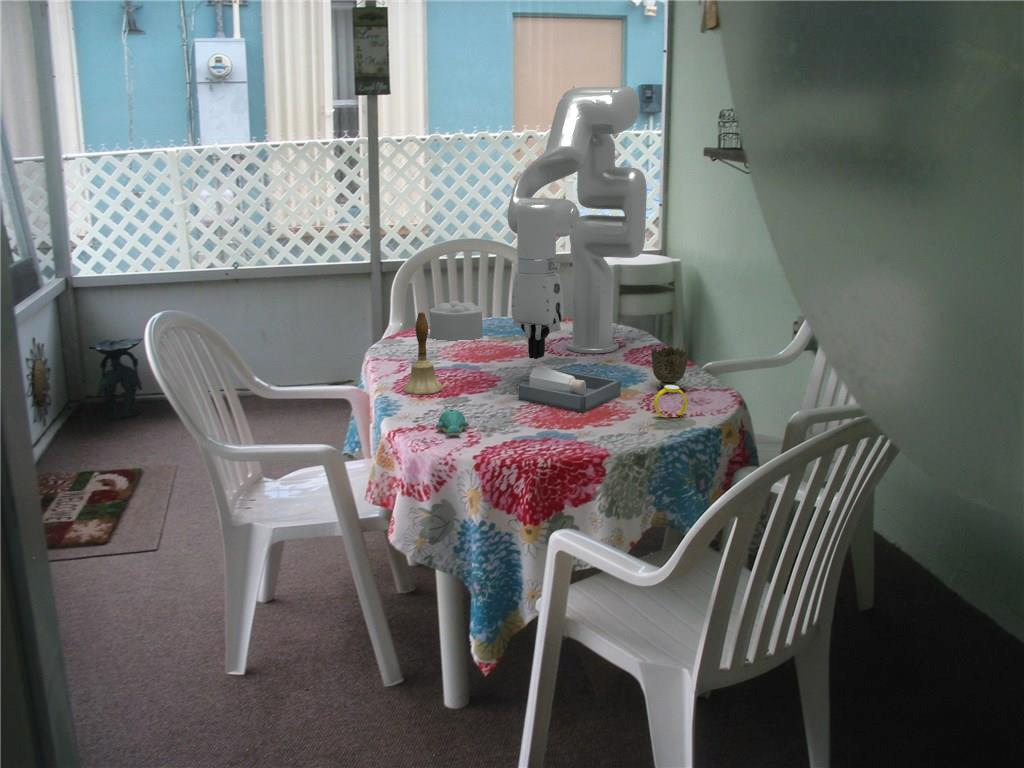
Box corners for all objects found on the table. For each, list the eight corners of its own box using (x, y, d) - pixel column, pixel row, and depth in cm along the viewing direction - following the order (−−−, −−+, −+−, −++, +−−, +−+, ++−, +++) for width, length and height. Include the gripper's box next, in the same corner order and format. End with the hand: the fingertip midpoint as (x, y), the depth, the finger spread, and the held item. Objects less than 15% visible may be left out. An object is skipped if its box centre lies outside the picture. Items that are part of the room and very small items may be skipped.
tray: (557, 383, 195) (557, 369, 194) (620, 395, 187) (620, 380, 186) (518, 399, 184) (518, 385, 183) (583, 412, 176) (583, 397, 175)
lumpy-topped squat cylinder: (484, 340, 234) (483, 306, 232) (432, 342, 232) (431, 308, 230) (478, 331, 244) (477, 298, 242) (428, 333, 242) (427, 300, 240)
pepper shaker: (531, 397, 189) (579, 406, 184) (526, 375, 186) (574, 384, 180) (545, 381, 193) (591, 390, 187) (539, 360, 190) (587, 368, 184)
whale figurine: (468, 425, 170) (467, 405, 169) (470, 438, 163) (469, 418, 162) (435, 426, 169) (435, 406, 168) (436, 440, 162) (436, 419, 161)
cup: (664, 395, 186) (665, 356, 184) (642, 386, 193) (644, 348, 191) (694, 390, 190) (696, 351, 188) (672, 381, 196) (673, 344, 194)
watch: (682, 415, 175) (686, 385, 173) (687, 420, 172) (690, 389, 170) (651, 414, 174) (654, 384, 172) (655, 419, 171) (658, 388, 170)
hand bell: (406, 383, 196) (403, 309, 192) (445, 383, 196) (443, 308, 192) (400, 395, 188) (397, 317, 184) (441, 395, 188) (439, 317, 184)
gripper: (579, 267, 182) (578, 358, 187) (516, 261, 190) (517, 348, 195) (558, 272, 176) (557, 366, 181) (494, 265, 184) (495, 356, 189)
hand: (536, 357), depth 188 cm, fingers closed
